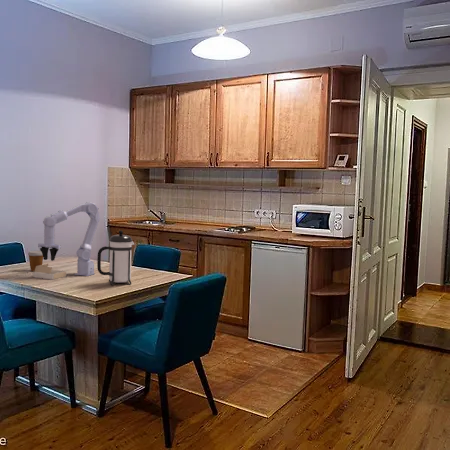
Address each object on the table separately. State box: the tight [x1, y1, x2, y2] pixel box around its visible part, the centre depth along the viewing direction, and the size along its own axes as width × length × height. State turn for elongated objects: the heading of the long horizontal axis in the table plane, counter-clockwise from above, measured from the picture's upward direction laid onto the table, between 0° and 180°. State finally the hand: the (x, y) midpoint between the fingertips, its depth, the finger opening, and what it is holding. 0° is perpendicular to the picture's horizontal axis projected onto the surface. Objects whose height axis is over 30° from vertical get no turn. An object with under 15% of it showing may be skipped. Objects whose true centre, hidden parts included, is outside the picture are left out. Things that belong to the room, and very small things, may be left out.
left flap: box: [35, 266, 53, 273], centre depth 281 cm, size 10×4×1 cm
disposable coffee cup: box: [27, 250, 44, 272], centre depth 303 cm, size 10×10×12 cm
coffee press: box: [96, 230, 136, 286], centre depth 273 cm, size 17×16×30 cm
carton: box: [32, 269, 67, 281], centre depth 286 cm, size 14×12×3 cm
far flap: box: [33, 263, 49, 272], centre depth 287 cm, size 4×11×1 cm
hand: (49, 260), depth 285 cm, fingers open, 4 cm apart
